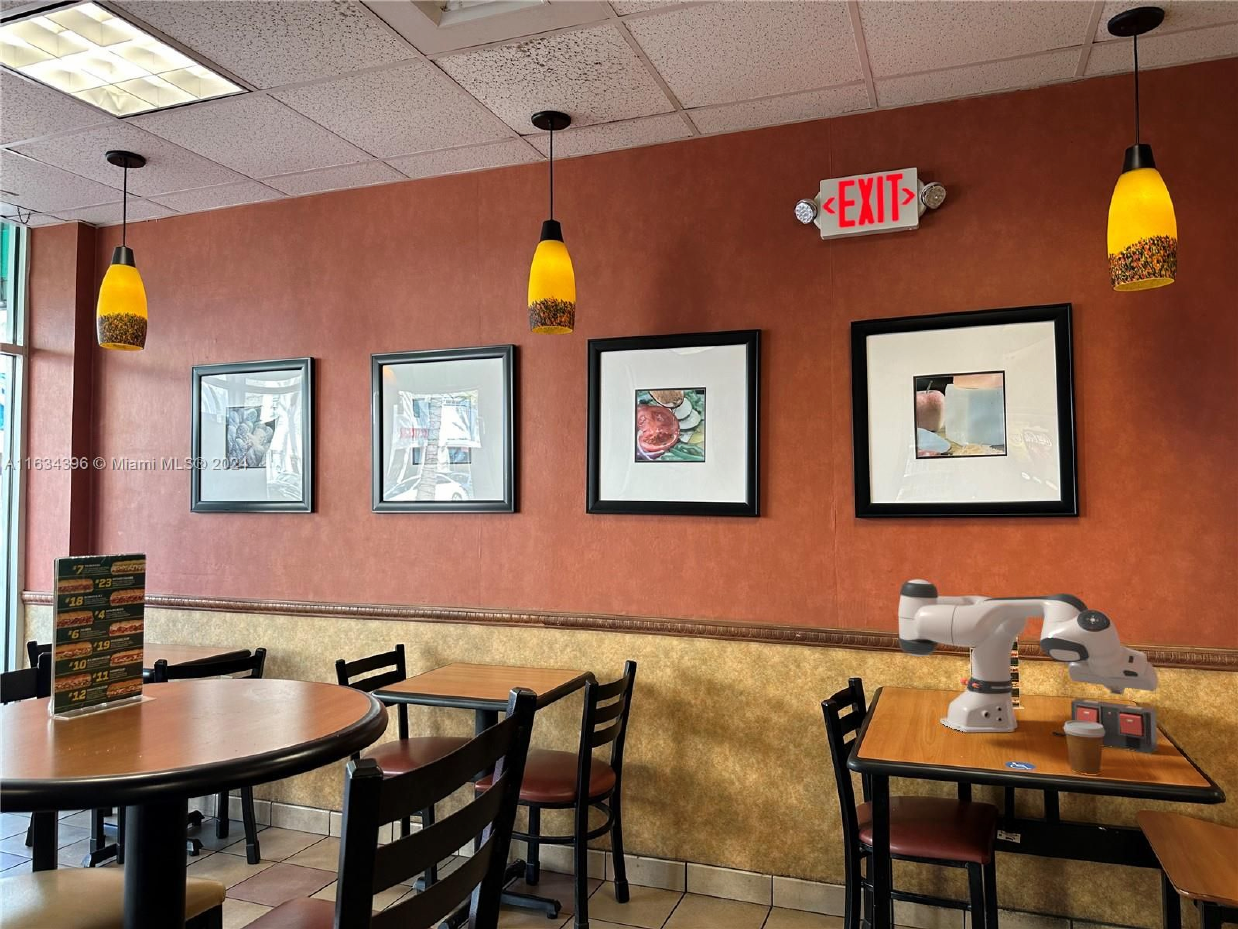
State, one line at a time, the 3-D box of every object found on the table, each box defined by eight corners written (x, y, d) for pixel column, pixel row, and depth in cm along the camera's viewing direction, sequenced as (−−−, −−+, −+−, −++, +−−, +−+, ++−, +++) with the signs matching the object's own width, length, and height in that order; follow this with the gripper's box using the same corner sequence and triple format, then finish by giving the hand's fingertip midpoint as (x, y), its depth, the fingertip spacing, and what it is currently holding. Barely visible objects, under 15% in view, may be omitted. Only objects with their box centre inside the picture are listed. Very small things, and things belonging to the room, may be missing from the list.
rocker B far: (1142, 733, 239) (1141, 716, 238) (1141, 735, 238) (1139, 718, 237) (1122, 730, 242) (1120, 713, 242) (1120, 732, 241) (1119, 715, 241)
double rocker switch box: (1157, 749, 242) (1155, 708, 242) (1151, 755, 237) (1149, 712, 237) (1056, 733, 260) (1055, 694, 260) (1049, 737, 255) (1048, 698, 255)
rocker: (1097, 728, 245) (1097, 710, 247) (1095, 728, 245) (1096, 710, 246) (1077, 725, 249) (1078, 707, 250) (1076, 725, 248) (1077, 707, 249)
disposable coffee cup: (1105, 780, 216) (1104, 731, 217) (1062, 774, 221) (1061, 726, 222) (1107, 770, 224) (1106, 722, 225) (1066, 764, 229) (1064, 718, 230)
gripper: (1060, 664, 230) (1072, 696, 237) (1149, 674, 216) (1159, 707, 223) (1065, 645, 233) (1077, 677, 240) (1153, 654, 219) (1163, 687, 226)
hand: (1117, 692), depth 231 cm, fingers closed
